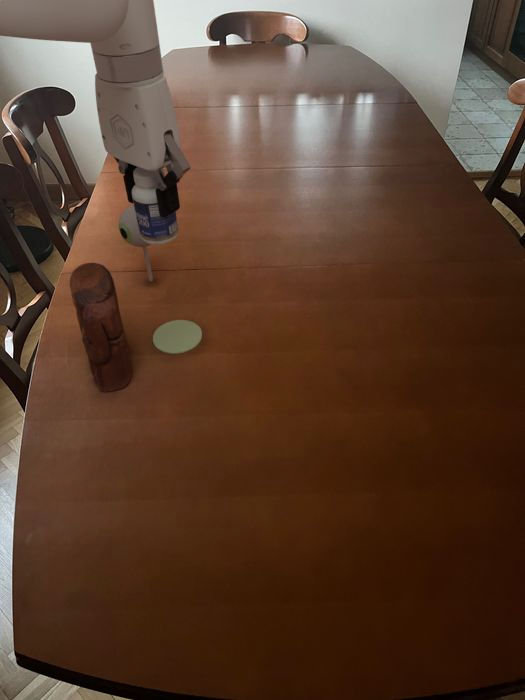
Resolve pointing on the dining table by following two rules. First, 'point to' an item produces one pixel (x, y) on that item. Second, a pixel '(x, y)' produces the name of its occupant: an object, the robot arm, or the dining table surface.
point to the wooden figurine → (101, 326)
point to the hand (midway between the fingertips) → (154, 204)
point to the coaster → (177, 336)
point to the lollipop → (133, 233)
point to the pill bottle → (151, 210)
